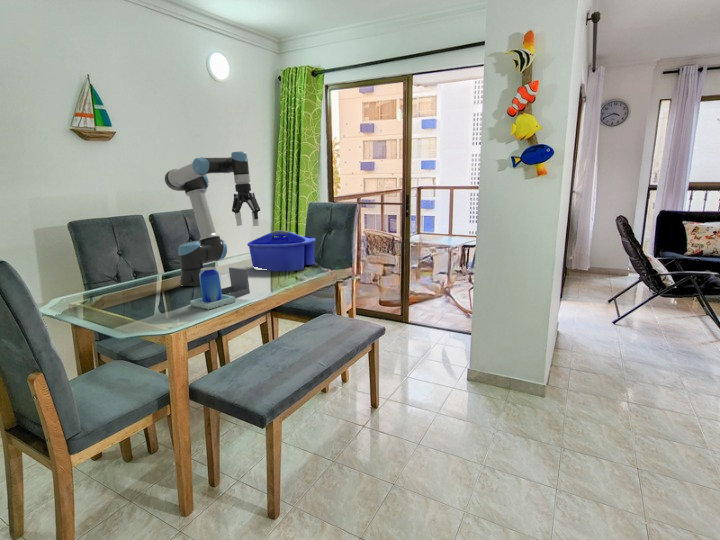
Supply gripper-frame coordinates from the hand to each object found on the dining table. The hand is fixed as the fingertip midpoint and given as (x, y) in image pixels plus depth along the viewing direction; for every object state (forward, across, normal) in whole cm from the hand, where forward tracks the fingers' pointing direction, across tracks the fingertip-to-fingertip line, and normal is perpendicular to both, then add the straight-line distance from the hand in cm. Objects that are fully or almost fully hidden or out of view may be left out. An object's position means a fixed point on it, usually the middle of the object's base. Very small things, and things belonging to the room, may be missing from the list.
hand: (247, 225), depth 221 cm
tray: (+32, +11, -32) cm, 46 cm away
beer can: (+31, +11, -32) cm, 46 cm away
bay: (+32, +4, -17) cm, 36 cm away
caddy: (+32, -26, +44) cm, 60 cm away
